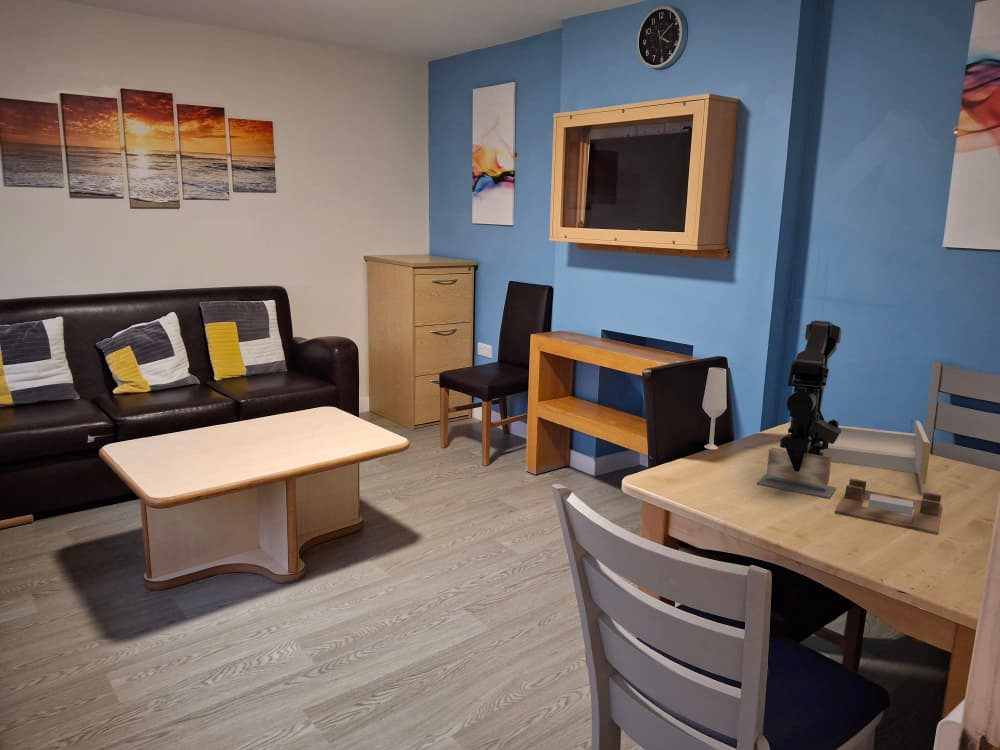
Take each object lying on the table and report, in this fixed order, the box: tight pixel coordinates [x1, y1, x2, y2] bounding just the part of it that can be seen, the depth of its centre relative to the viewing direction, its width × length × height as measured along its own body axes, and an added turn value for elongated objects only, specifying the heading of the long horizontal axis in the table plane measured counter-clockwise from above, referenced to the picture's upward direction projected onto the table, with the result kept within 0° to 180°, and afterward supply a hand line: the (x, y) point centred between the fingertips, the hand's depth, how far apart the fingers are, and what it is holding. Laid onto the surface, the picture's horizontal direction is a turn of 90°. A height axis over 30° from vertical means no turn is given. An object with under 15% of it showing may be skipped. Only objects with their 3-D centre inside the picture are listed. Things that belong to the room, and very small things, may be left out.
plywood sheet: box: [766, 447, 832, 486], centre depth 179 cm, size 14×3×6 cm, turn 56°
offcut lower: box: [860, 500, 914, 524], centre depth 160 cm, size 10×5×2 cm, turn 56°
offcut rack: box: [834, 478, 943, 535], centre depth 165 cm, size 20×20×4 cm
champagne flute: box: [701, 367, 727, 450], centre depth 208 cm, size 7×7×24 cm
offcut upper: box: [869, 494, 913, 515], centre depth 159 cm, size 8×4×2 cm, turn 60°
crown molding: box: [820, 425, 917, 474], centre depth 198 cm, size 31×12×4 cm
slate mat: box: [756, 473, 837, 500], centre depth 180 cm, size 17×9×1 cm, turn 56°
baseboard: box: [909, 419, 931, 486], centre depth 189 cm, size 31×3×12 cm, turn 154°
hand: (798, 469), depth 179 cm, fingers closed on plywood sheet, 3 cm apart
